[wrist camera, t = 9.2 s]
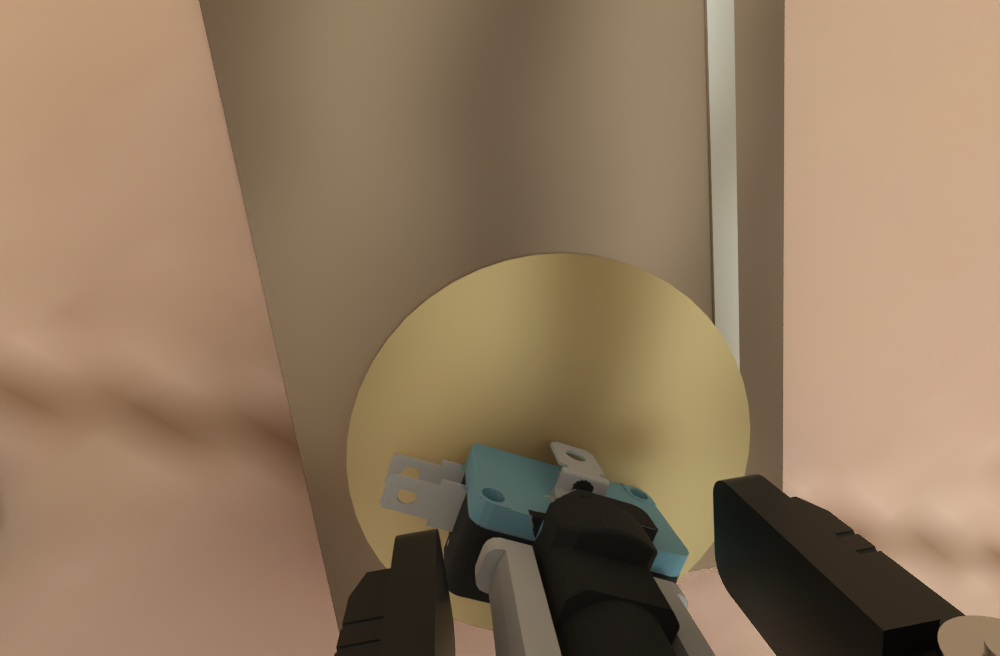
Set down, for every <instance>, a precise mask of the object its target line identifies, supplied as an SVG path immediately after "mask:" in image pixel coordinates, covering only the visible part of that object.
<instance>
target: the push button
mask: <svg viewBox="0 0 1000 656" xmlns="http://www.w3.org/2000/svg"><path fill="white" fill-rule="evenodd" d="M550 447H551V449H552V451H553V453H554V455H555V458H556V460H557V462H558V464H559V465H560V466H563V467H558V466H555V465H551V464H548V463H544V462H541V461H537V460H534V459H530V458H527V457H524V456H520V455H517V454H513V453H510V452H506V451H503V450H499V449H496V448H492V447H489V446H485V445H480V444H475V445H473V446H472V447H471V450H470V453H469V456H468V458H467V461H466V464H465V465H462V464H458V463H455V462H451V461H447V460H444V459H442V461H441V464H440V465H439V464H435V463H432V462H428V461H424V460H421V459H417V458H413V457H410V456H406V455H403V454H399V453H397V454H395V455H393V457H392V460H391V462H390V465H389V468H388V471H387V474H386V477H385V480H384V482H385V483H386V484H385V487H384V490H383V493H382V496H381V499H380V502H379V503H380V505H381V507H382V508H386V509H390V510H394V511H398V512H402V513H405V514H409V515H413V516H417V517H421V518H425V519H427V522H426V526H430V527H434V528H438V529H442V530H446V531H449V536H448V538H447V541H446V544H445V546H444V564H445V571H446V577H447V583H448V589H449V591H450V592H451V593H453V594H454V595H457V596H460V597H464V598H468V599H472V600H477V601H481V602H485V603H490V607H491V616H492V624H493V632H494V641H495V649H496V656H715V654H714V653H713V651H712V649H711V648H710V646H709V645H708V643H707V641H706V640H705V638H704V636H703V635H702V633H701V632H700V630H699V628H698V627H697V625H696V624H695V622H694V620H693V619H692V617H691V615H690V614H689V612H688V611H687V609H686V608H687V600H686V598H685V596H684V594H683V593H682V591H681V590H680V588H679V586H678V585H677V584H676V582H677V579H678V577H679V575H680V573H681V570H682V568H683V566H684V564H685V562H686V560H687V557H688V555H689V552H688V549H687V548H686V547H685V545H684V544H683V542H682V541H681V540H680V538H679V537H678V536H677V534H676V533H675V532H674V530H673V529H672V527H671V526H670V525H669V523H668V522H667V521H666V519H665V518H664V517H663V515H662V514H661V512H660V511H659V510H658V508H657V507H656V504H655V502H654V501H653V500H652V498H651V497H650V496H649V495H648V494H647V493H645V492H644V491H642V490H640V489H638V488H635V487H632V486H629V485H625V484H622V485H621V484H617V483H614V482H610V481H609V480H608V479H605V478H604V476H605V474H604V472H603V471H602V469H601V467H600V466H599V464H598V463H597V461H596V459H595V458H594V456H593V455H592V454H590V453H589V452H587V451H585V450H583V449H580V448H576V447H573V446H569V445H566V444H563V443H559V442H551V444H550ZM566 453H570V454H574V455H576V456H578V457H580V458H581V459H583V460H584V461H578V460H575V459H573V458H571V457H570V456H568V455H567V454H566ZM406 467H414V468H416V469H417V470H418V472H419V476H418V478H417V479H416V478H412V477H408V476H405V475H401V472H402V470H403V469H404V468H406ZM401 489H402V490H406V491H410V492H413V493H417V497H416V499H415V500H414V501H413V502H410V503H404V502H402V501H400V500H399V498H398V495H397V494H398V492H399V491H400V490H401Z"/></svg>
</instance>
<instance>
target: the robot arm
mask: <svg viewBox="0 0 1000 656" xmlns="http://www.w3.org/2000/svg"><path fill="white" fill-rule="evenodd" d="M713 514H714V547H715V560H716V565H717V569H718V572H719V575H720V577H721V580H722V582H723V584H724V586H725V588H726V589H727V591H728V593H729V594H730V595H731V597H732V598H733V599H734V601H735V602H736V603H737V604H738V606H739V607H740V608H741V610H742V611H743V612H744V614H745V615H746V616H747V618H748V619H749V620H750V621H751V623H752V624H753V625H754V627H755V628H756V629H757V631H758V632H759V633H760V635H761V636H762V637H763V639H764V640H765V641H766V642H767V644H768V645H769V646H770V648H771V649H772V650H773V652H774V653H775V654H776V656H1000V619H997V618H993V617H985V616H966V615H964V614H963V613H962V612H960V611H959V610H958V609H956V608H955V607H954V606H952V605H951V604H950V603H949V602H947V601H946V600H945V599H943V598H942V597H941V596H939V595H938V594H937V593H935V592H934V591H933V590H931V589H930V588H929V587H928V586H926V585H925V584H924V583H922V582H921V581H920V580H918V579H917V578H916V577H914V576H913V575H912V574H910V573H909V572H908V571H906V570H905V569H904V568H903V567H901V566H900V565H899V564H897V563H896V562H895V561H893V560H892V559H891V558H889V557H888V556H887V555H885V554H884V553H883V552H882V551H878V552H877V550H876V549H875V546H874V545H872V544H871V543H870V542H868V541H867V540H866V539H864V538H863V537H862V536H860V535H859V534H856V535H855V533H854V531H853V529H851V528H850V527H849V526H847V525H846V524H845V523H843V522H842V521H841V520H839V519H838V518H837V517H836V516H834V515H833V514H832V513H830V512H829V511H827V510H825V509H823V508H821V507H818V506H816V505H814V504H811V503H809V502H807V501H805V500H802V499H800V498H798V497H791V498H790V497H788V496H787V495H786V494H785V493H783V492H782V491H781V490H780V489H778V488H777V487H776V486H775V485H773V484H772V483H771V482H770V481H768V480H767V479H766V478H765V477H763V476H762V475H759V474H753V475H748V476H742V477H736V478H730V479H725V480H719V481H717V482H716V483H715V484H714V487H713ZM334 656H455V636H454V624H453V615H452V607H451V601H450V595H449V589H448V583H447V577H446V571H445V564H444V558H443V552H442V546H441V540H440V535H439V531H438V529H431V530H426V531H420V532H414V533H408V534H403V535H397V536H396V537H395V541H394V547H393V554H392V561H391V568H388V569H382V570H377V571H371V572H367V573H366V574H365V575H364V577H363V578H362V579H361V581H360V582H359V583H358V585H357V586H356V588H355V589H354V590H353V592H352V593H351V594H350V596H349V598H348V602H347V606H346V610H345V614H344V618H343V622H342V629H341V631H340V635H339V639H338V643H337V653H335V655H334Z"/></svg>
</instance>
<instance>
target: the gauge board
mask: <svg viewBox="0 0 1000 656" xmlns="http://www.w3.org/2000/svg"><path fill="white" fill-rule="evenodd" d="M199 2H200V7H201V11H202V16H203V20H204V25H205V29H206V34H207V38H208V43H209V47H210V52H211V56H212V61H213V65H214V70H215V74H216V79H217V83H218V88H219V92H220V97H221V101H222V106H223V110H224V115H225V119H226V124H227V128H228V133H229V137H230V142H231V146H232V151H233V155H234V160H235V164H236V169H237V173H238V178H239V182H240V187H241V191H242V196H243V200H244V205H245V209H246V214H247V218H248V223H249V228H250V232H251V237H252V241H253V246H254V250H255V255H256V259H257V264H258V268H259V273H260V277H261V282H262V286H263V291H264V295H265V300H266V304H267V309H268V313H269V318H270V322H271V327H272V331H273V336H274V340H275V345H276V349H277V354H278V358H279V363H280V367H281V372H282V376H283V381H284V385H285V390H286V394H287V399H288V403H289V408H290V412H291V417H292V421H293V426H294V430H295V435H296V439H297V444H298V448H299V453H300V457H301V462H302V466H303V471H304V475H305V480H306V484H307V489H308V493H309V498H310V502H311V507H312V511H313V516H314V520H315V525H316V530H317V534H318V539H319V543H320V548H321V552H322V557H323V561H324V566H325V570H326V575H327V579H328V584H329V588H330V593H331V597H332V602H333V606H334V611H335V615H336V620H337V624H338V629H339V633H340V631H341V629H342V622H343V618H344V614H345V610H346V606H347V602H348V598H349V596H350V594H351V593H352V592H353V590H354V589H355V588H356V586H357V585H358V583H359V582H360V581H361V579H362V578H363V577H364V575H365V574H366V573H367V572H371V571H377V570H382V569H388V568H391V561H392V554H393V547H394V541H395V537H396V536H397V535H403V534H408V533H414V532H420V531H426V530H431V529H438V528H434V527H430V526H426V522H427V519H425V518H421V517H417V516H413V515H409V514H405V513H402V512H398V511H394V510H390V509H386V508H382V507H381V505H380V503H379V502H380V499H381V496H382V493H383V490H384V487H385V484H386V483H385V482H384V480H385V477H386V474H387V471H388V468H389V465H390V462H391V460H392V457H393V455H395V454H397V453H399V454H403V455H406V456H410V457H413V458H417V459H421V460H424V461H428V462H432V463H435V464H439V465H440V464H441V461H442V459H444V460H447V461H451V462H455V463H458V464H462V465H465V464H466V461H467V458H468V456H469V453H470V450H471V447H472V446H473V445H475V444H480V445H485V446H489V447H492V448H496V449H499V450H503V451H506V452H510V453H513V454H517V455H520V456H524V457H527V458H530V459H534V460H537V461H541V462H544V463H548V464H551V465H555V466H558V467H563V466H560V465H559V464H558V462H557V460H556V458H555V455H554V453H553V451H552V449H551V447H550V444H551V442H559V443H563V444H566V445H569V446H573V447H576V448H580V449H583V450H585V451H587V452H589V453H590V454H592V455H593V456H594V458H595V459H596V461H597V463H598V464H599V466H600V467H601V469H602V471H603V472H604V474H605V476H604V478H605V479H608V480H609V481H610V482H614V483H617V484H621V485H622V484H625V485H629V486H632V487H635V488H638V489H640V490H642V491H644V492H645V493H647V494H648V495H649V496H650V497H651V498H652V500H653V501H654V502H655V504H656V507H657V508H658V510H659V511H660V512H661V514H662V515H663V517H664V518H665V519H666V521H667V522H668V523H669V525H670V526H671V527H672V529H673V530H674V532H675V533H676V534H677V536H678V537H679V538H680V540H681V541H682V542H683V544H684V545H685V547H686V548H687V549H688V552H689V555H688V557H687V560H686V562H685V564H684V566H683V568H682V570H681V573H680V575H679V577H678V579H677V581H678V580H680V579H681V578H682V577H683V576H684V575H685V574H686V573H687V572H690V571H696V570H701V569H707V568H712V567H717V565H716V560H715V547H714V514H713V487H714V484H715V483H716V482H717V481H719V480H725V479H730V478H736V477H742V476H748V475H753V474H759V475H762V476H763V477H765V478H766V479H767V480H768V481H770V482H771V483H772V484H773V485H775V486H776V487H777V488H778V489H780V490H781V491H782V488H783V245H784V2H785V0H199ZM566 454H567V455H568V456H570V457H571V458H573V459H575V460H578V461H584V460H583V459H581V458H580V457H578V456H576V455H574V454H570V453H566ZM401 475H405V476H408V477H412V478H416V479H417V478H418V476H419V472H418V470H417V469H416V468H414V467H406V468H404V469H403V470H402V472H401ZM397 495H398V498H399V500H400V501H402V502H404V503H410V502H413V501H414V500H415V499H416V497H417V493H413V492H410V491H406V490H402V489H401V490H400V491H399V492H398V494H397ZM438 531H439V535H440V540H441V546H442V552H443V558H444V546H445V544H446V541H447V538H448V536H449V531H446V530H442V529H438ZM449 595H450V601H451V607H452V615H453V618H454V619H456V620H459V621H462V622H465V623H468V624H470V625H473V626H476V627H480V628H484V629H489V630H493V624H492V616H491V607H490V603H485V602H481V601H477V600H472V599H468V598H464V597H460V596H457V595H454V594H453V593H451V592H450V591H449Z"/></svg>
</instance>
